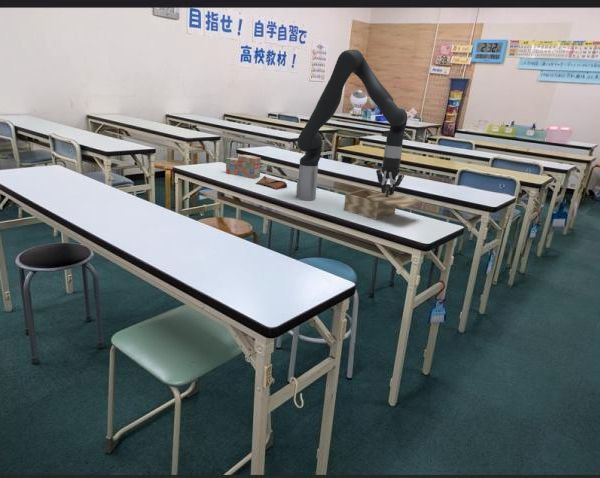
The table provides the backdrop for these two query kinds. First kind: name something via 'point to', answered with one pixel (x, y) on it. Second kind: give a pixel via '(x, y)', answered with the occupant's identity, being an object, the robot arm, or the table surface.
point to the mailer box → (366, 205)
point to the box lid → (394, 199)
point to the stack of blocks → (244, 166)
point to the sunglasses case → (272, 183)
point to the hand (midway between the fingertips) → (387, 193)
